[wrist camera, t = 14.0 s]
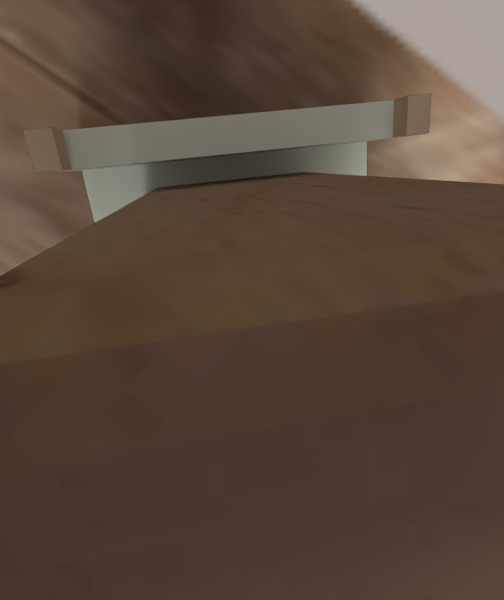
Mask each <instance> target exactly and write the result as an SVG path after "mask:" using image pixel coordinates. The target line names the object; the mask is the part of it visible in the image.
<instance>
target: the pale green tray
mask: <svg viewBox="0 0 504 600" xmlns="http://www.w3.org/2000/svg"><path fill="white" fill-rule="evenodd" d="M430 109H431V93H428V94H417V95H408V96H405V97H402V98H399V99H396V100H389V101H378V102H367V103H356V104H345V105H334V106H323V107H312V108H301V109H290V110H279V111H269V112H258V113H247V114H236V115H225V116H214V117H203V118H192V119H181V120H170V121H159V122H148V123H137V124H126V125H115V126H104V127H93V128H82V129H71V130H59V129H55V128H40V129H29V130H23V132H24V135H25V139H26V142H27V146H28V149H29V153H30V156H31V160H32V163H33V167H34V170H35V173H43V172H64V171H82V173H83V177H84V182H85V186H86V190H87V194H88V198H89V202H90V206H91V210H92V214H93V219H94V223H96V222H97V221H99V220H101V219H103V218H105V217H106V216H108V215H110V214H112V213H113V212H115V211H117V210H119V209H121V208H122V207H124V206H126V205H128V204H129V203H131V202H133V201H135V200H137V199H138V198H140V197H142V196H144V195H145V194H147V193H149V192H151V191H153V190H154V189H156V188H158V187H167V186H176V185H186V184H195V183H205V182H214V181H224V180H233V179H242V178H252V177H261V176H271V175H280V174H290V173H299V172H312V173H328V174H343V175H359V176H367V142H368V141H376V140H383V139H390V138H397V137H404V136H412V135H419V134H426V133H429V125H430Z"/></svg>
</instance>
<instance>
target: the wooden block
mask: <svg viewBox="0 0 504 600" xmlns="http://www.w3.org/2000/svg"><path fill="white" fill-rule="evenodd" d="M0 600H504V185H503V184H487V183H471V182H455V181H439V180H423V179H407V178H391V177H375V176H359V175H343V174H328V173H312V172H299V173H290V174H280V175H271V176H261V177H252V178H242V179H233V180H224V181H214V182H205V183H195V184H186V185H176V186H167V187H158V188H156V189H154V190H153V191H151V192H149V193H147V194H145V195H144V196H142V197H140V198H138V199H137V200H135V201H133V202H131V203H129V204H128V205H126V206H124V207H122V208H121V209H119V210H117V211H115V212H113V213H112V214H110V215H108V216H106V217H105V218H103V219H101V220H99V221H97V222H96V223H94V224H92V225H90V226H89V227H87V228H85V229H83V230H81V231H80V232H78V233H76V234H74V235H73V236H71V237H69V238H67V239H65V240H64V241H62V242H60V243H58V244H57V245H55V246H53V247H51V248H49V249H48V250H46V251H44V252H42V253H41V254H39V255H37V256H35V257H33V258H32V259H30V260H28V261H26V262H25V263H23V264H21V265H19V266H17V267H16V268H14V269H12V270H10V271H9V272H7V273H5V274H3V275H2V276H0Z"/></svg>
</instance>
